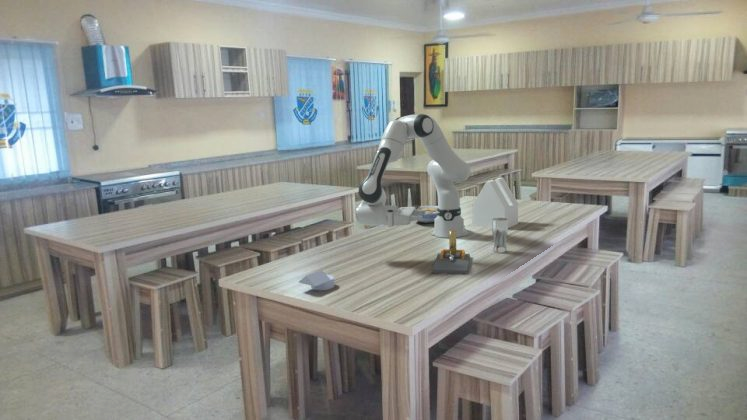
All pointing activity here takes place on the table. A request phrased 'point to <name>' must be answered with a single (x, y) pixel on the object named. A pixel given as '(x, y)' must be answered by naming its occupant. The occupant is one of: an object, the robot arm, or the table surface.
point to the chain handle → (452, 246)
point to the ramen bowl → (427, 213)
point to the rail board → (451, 263)
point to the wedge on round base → (319, 280)
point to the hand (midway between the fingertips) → (423, 215)
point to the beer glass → (499, 234)
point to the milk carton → (495, 204)
